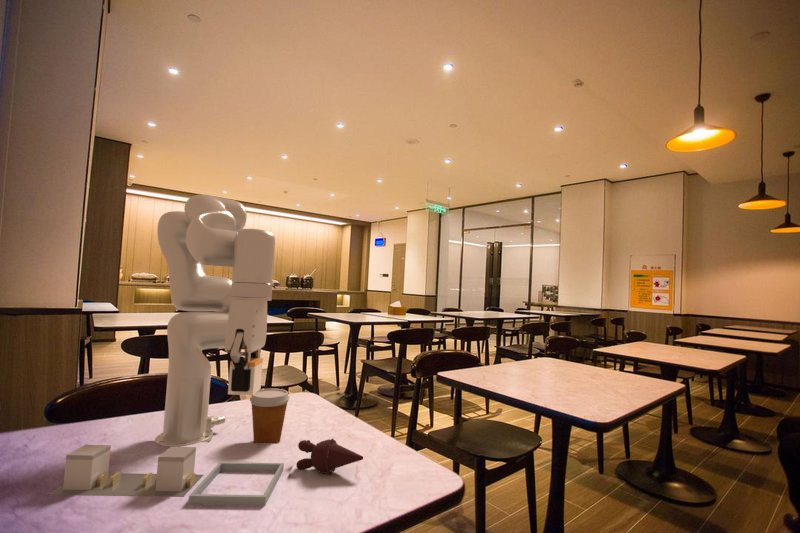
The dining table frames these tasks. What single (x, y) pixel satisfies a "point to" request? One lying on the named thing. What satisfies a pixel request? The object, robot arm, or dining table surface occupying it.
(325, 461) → the icecream
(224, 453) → the dining table surface
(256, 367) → the block
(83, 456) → the fuse
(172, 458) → the block
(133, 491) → the fuse panel
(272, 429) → the disposable coffee cup
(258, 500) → the tray
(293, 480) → the dining table surface
